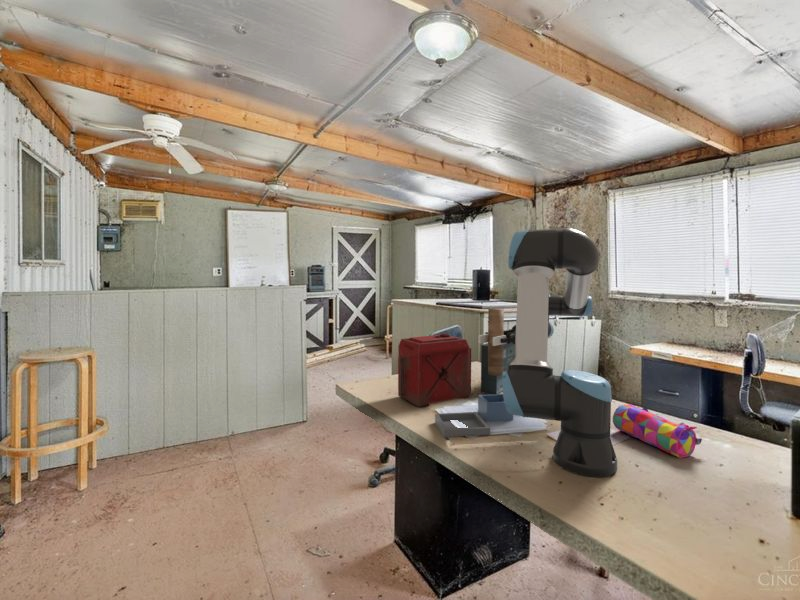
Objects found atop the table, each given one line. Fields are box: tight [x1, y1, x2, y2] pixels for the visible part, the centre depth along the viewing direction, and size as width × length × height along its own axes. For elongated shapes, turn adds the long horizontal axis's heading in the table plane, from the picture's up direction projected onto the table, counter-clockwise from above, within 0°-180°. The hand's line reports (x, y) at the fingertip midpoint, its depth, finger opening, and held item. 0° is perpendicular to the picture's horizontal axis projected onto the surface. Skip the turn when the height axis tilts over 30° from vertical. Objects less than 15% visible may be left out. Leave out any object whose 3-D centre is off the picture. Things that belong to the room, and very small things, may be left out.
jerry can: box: [397, 333, 472, 408], centre depth 155 cm, size 30×16×25 cm, turn 118°
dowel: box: [487, 308, 505, 376], centre depth 132 cm, size 5×5×22 cm
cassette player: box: [480, 342, 515, 395], centre depth 172 cm, size 29×7×20 cm, turn 141°
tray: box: [434, 411, 491, 441], centre depth 124 cm, size 14×14×3 cm
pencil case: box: [612, 403, 703, 459], centre depth 113 cm, size 22×9×9 cm, turn 21°
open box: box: [477, 393, 514, 422], centre depth 133 cm, size 9×9×7 cm
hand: (486, 340), depth 128 cm, fingers closed on dowel, 5 cm apart
